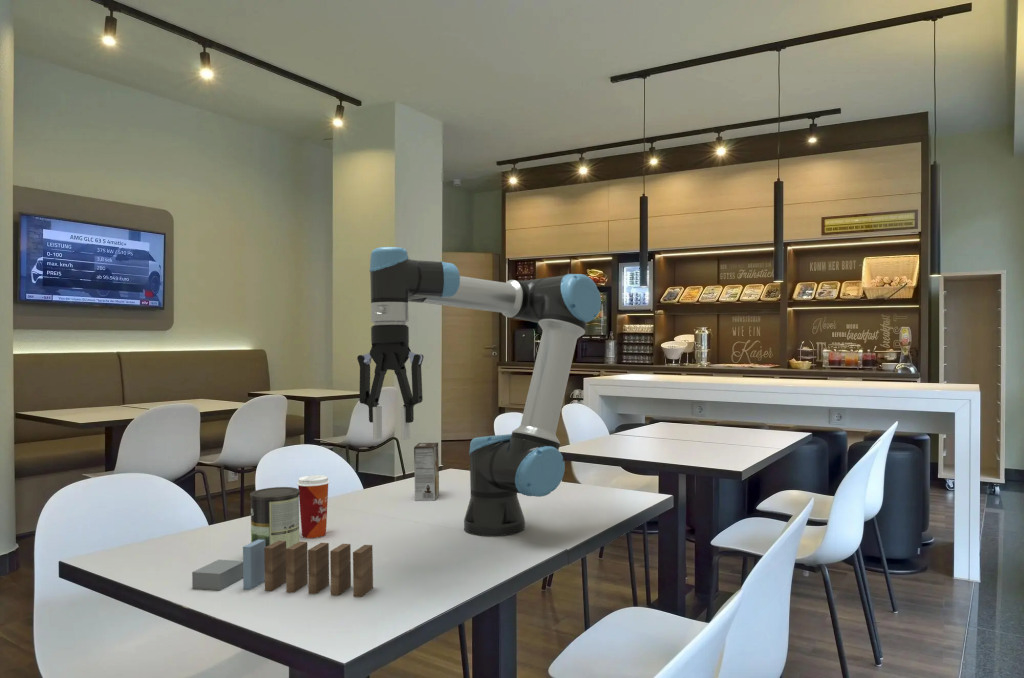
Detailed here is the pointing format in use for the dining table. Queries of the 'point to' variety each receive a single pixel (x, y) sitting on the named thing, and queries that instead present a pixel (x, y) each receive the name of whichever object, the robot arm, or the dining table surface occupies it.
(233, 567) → the block
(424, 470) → the coffee box
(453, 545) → the dining table surface
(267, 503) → the coffee can
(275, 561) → the domino
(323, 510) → the paper cup
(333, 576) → the domino
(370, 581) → the domino
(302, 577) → the domino
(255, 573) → the domino
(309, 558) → the domino
